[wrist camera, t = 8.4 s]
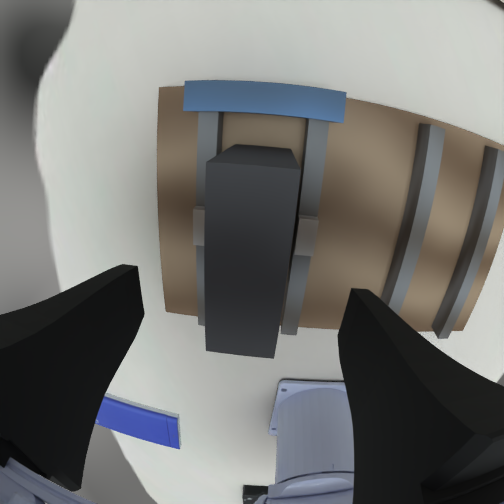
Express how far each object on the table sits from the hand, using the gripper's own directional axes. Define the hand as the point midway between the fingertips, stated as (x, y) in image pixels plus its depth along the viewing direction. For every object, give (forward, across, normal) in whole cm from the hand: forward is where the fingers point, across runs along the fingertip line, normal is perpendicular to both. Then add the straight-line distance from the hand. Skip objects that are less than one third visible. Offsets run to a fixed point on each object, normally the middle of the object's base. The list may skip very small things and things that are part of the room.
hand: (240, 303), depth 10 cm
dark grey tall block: (+8, 0, 0) cm, 8 cm away
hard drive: (+10, +13, +26) cm, 31 cm away
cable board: (+9, -6, 0) cm, 11 cm away
